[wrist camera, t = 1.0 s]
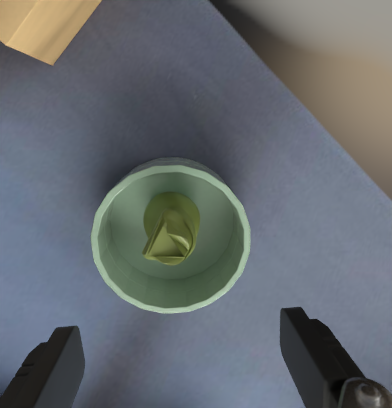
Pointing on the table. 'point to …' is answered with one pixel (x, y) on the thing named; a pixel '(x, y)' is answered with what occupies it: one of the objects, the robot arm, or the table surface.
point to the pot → (136, 238)
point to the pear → (170, 228)
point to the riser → (43, 25)
